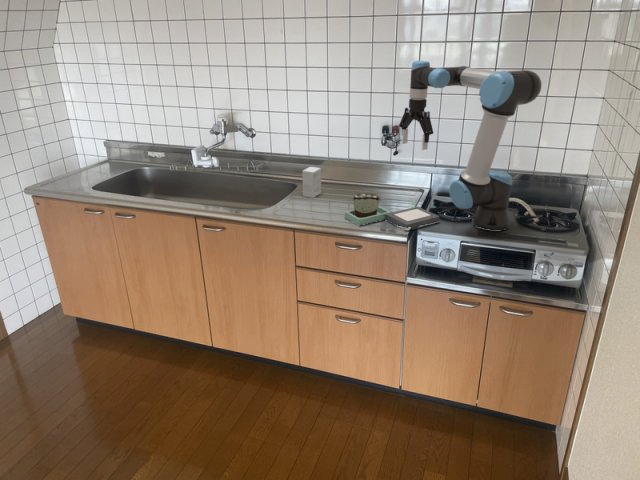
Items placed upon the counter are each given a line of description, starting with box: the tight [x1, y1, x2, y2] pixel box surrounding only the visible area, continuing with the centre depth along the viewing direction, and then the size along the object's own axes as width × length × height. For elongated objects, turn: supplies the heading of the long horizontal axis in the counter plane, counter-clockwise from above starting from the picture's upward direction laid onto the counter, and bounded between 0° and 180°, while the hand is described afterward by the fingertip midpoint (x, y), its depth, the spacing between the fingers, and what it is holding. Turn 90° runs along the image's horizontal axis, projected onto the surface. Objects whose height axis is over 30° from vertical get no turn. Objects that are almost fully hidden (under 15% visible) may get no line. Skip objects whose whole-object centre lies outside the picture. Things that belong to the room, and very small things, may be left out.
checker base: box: [384, 206, 440, 231], centre depth 212 cm, size 14×18×4 cm
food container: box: [351, 191, 381, 218], centre depth 216 cm, size 12×6×10 cm, turn 89°
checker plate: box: [394, 209, 431, 222], centre depth 212 cm, size 9×13×1 cm
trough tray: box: [344, 205, 392, 226], centre depth 216 cm, size 11×17×3 cm, turn 121°
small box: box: [301, 166, 322, 198], centre depth 242 cm, size 8×6×13 cm
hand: (414, 146), depth 225 cm, fingers open, 13 cm apart
